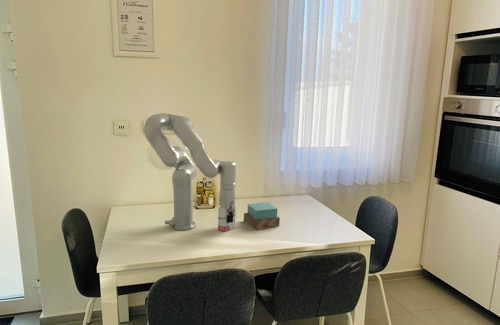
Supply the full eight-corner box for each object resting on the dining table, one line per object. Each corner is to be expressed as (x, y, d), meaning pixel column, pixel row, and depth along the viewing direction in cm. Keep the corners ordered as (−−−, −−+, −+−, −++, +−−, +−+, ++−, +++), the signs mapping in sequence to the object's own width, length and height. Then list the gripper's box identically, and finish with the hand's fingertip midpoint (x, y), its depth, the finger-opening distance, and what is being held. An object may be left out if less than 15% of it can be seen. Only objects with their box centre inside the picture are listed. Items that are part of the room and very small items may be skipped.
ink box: (224, 232, 185) (225, 209, 183) (217, 229, 188) (217, 207, 185) (235, 227, 192) (236, 205, 189) (228, 225, 194) (229, 203, 192)
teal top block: (255, 220, 191) (256, 210, 190) (247, 212, 202) (247, 204, 201) (277, 217, 195) (277, 208, 194) (267, 210, 206) (268, 202, 205)
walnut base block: (256, 230, 190) (256, 221, 189) (243, 222, 202) (243, 213, 201) (279, 226, 196) (279, 217, 195) (265, 218, 208) (266, 209, 207)
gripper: (213, 182, 191) (213, 215, 194) (228, 191, 176) (227, 226, 180) (227, 181, 195) (226, 213, 198) (242, 189, 180) (241, 224, 183)
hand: (226, 219), depth 189 cm, fingers closed on ink box, 6 cm apart
